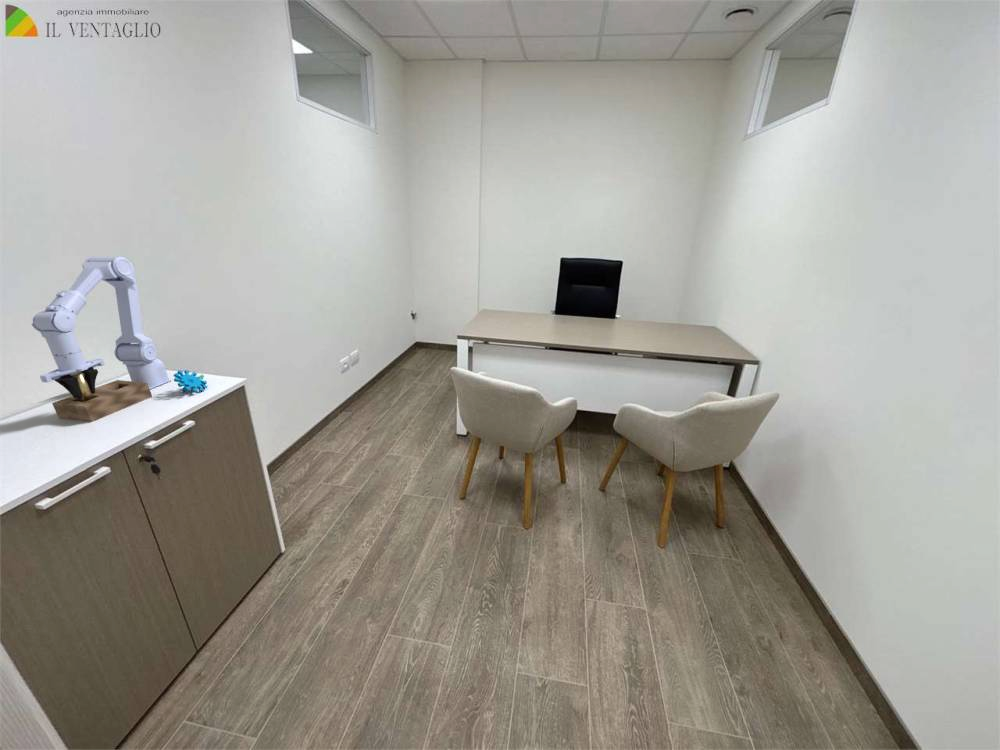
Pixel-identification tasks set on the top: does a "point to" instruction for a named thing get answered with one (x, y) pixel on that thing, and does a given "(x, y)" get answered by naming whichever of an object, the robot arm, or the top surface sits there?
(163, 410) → the top surface
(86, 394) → the peg
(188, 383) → the gear
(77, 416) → the hole block
